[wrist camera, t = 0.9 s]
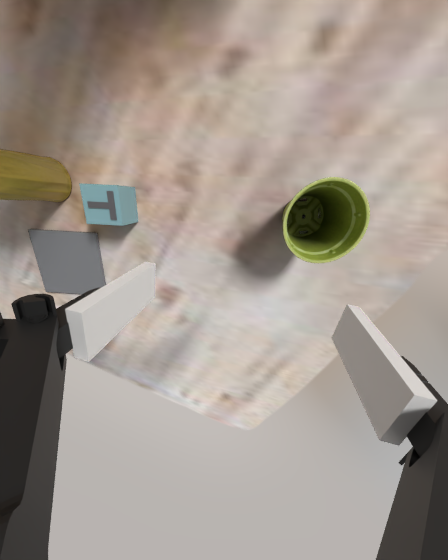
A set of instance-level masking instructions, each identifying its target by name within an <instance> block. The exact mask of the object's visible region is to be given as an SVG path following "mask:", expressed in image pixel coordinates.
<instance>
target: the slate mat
mask: <svg viewBox="0 0 448 560" xmlns="http://www.w3.org/2000/svg"><path fill="white" fill-rule="evenodd" d="M28 232H29V235H30V239H31V242H32V245H33V249H34V252H35V256H36V259H37V263H38V266H39V270H40V273H41V276H42V280H43V283H44V287H45V290H46V292H59V293H74V294H84V293H85V292H87V291H89V290H92V289H95V288H98V287H100V288H102V287H103V286H105V285H106V282H105V276H104V270H103V264H102V259H101V253H100V247H99V241H98V235H97V233H91V232H73V231H56V230H38V229H29V230H28Z"/></svg>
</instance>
